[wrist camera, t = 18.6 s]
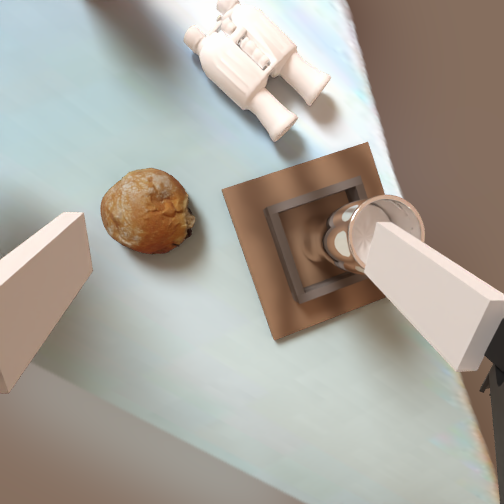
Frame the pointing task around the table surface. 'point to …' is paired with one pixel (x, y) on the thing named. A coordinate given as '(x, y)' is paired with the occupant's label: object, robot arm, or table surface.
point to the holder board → (288, 237)
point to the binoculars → (254, 63)
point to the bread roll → (147, 212)
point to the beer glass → (356, 231)
